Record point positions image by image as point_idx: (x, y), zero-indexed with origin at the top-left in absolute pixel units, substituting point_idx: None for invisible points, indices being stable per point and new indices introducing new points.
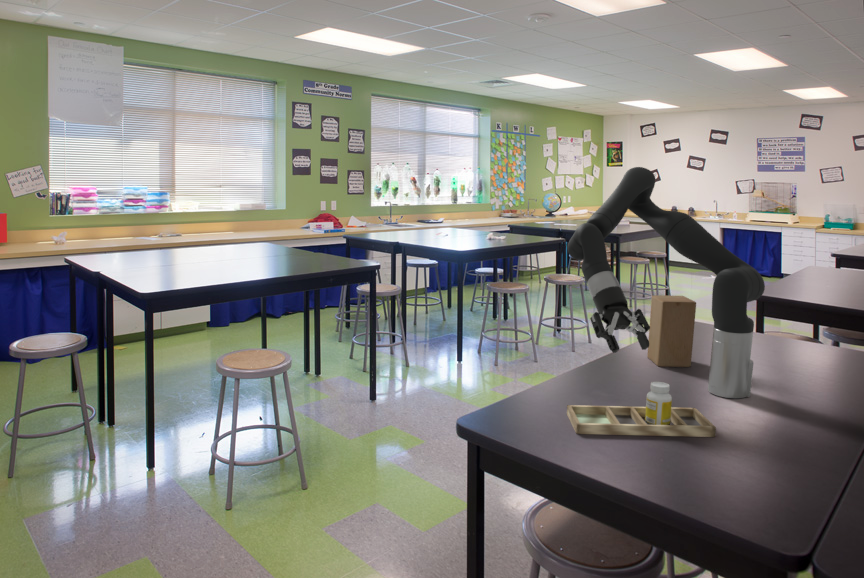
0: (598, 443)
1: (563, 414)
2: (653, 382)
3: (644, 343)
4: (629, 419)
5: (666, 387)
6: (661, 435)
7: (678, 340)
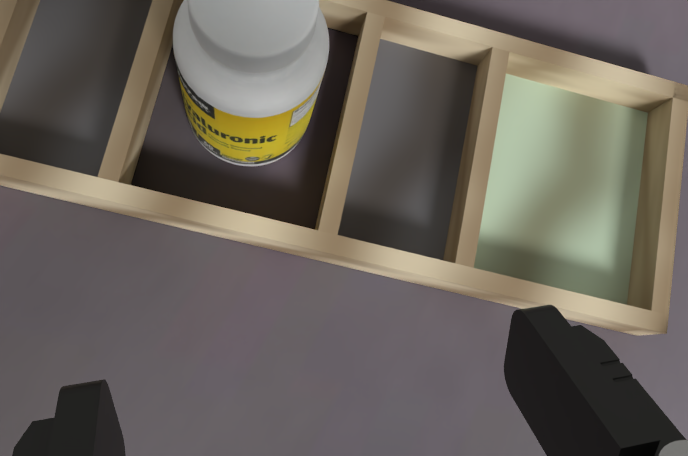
0: (601, 2)
1: None
2: (281, 39)
3: (104, 432)
4: (361, 190)
5: None
6: None
7: None
